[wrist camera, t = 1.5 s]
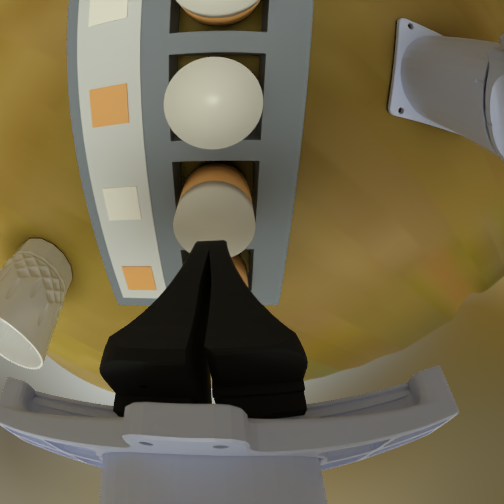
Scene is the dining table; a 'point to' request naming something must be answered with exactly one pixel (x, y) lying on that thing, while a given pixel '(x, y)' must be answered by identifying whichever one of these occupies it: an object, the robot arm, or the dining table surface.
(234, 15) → the button
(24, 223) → the dining table surface
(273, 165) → the board
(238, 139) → the button
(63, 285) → the white cup
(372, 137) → the dining table surface
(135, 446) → the robot arm
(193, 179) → the button
